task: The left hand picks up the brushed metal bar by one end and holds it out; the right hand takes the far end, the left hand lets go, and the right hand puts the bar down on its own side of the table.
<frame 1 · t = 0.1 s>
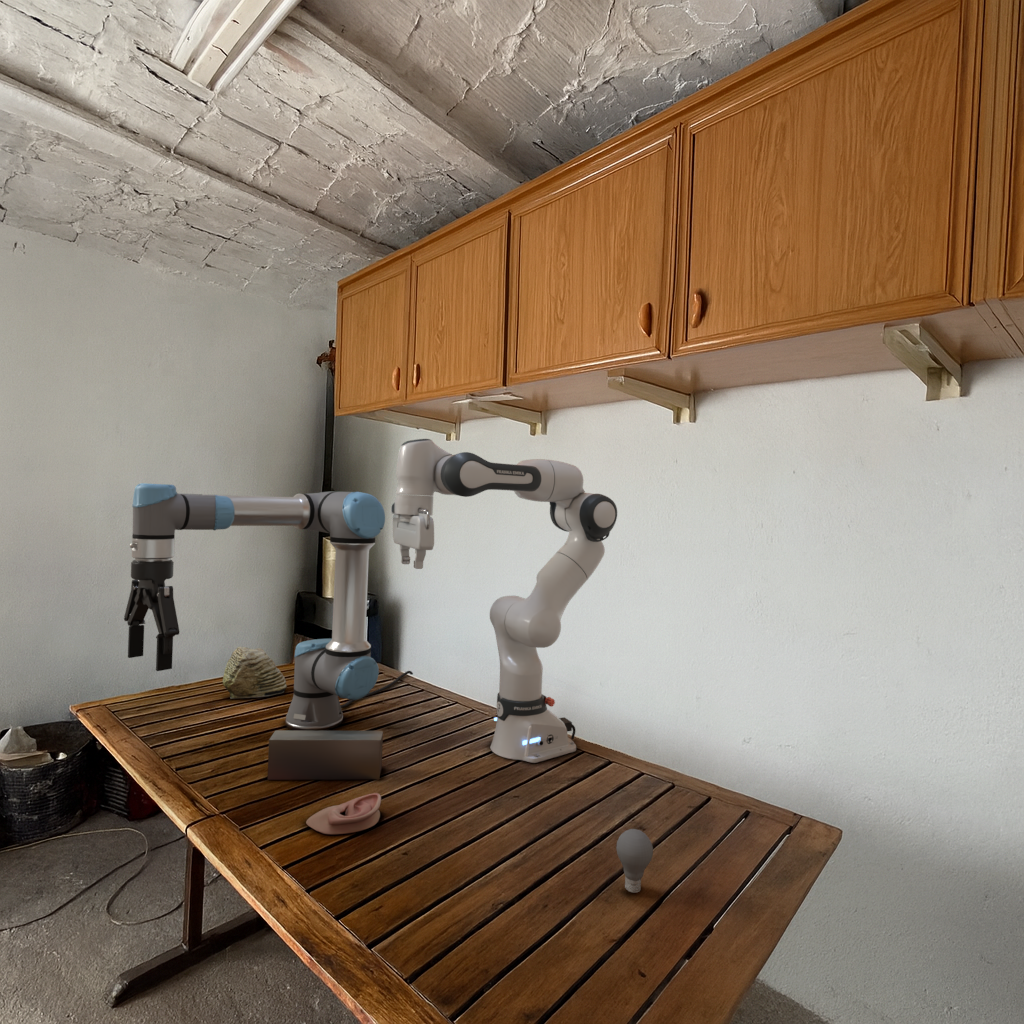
left hand: (149, 663, 129), 28 cm above the table, tool pointing down, fingers open, 13 cm apart
right hand: (411, 566, 149), 48 cm above the table, tool pointing down, fingers open, 8 cm apart
bar: (326, 774, 145), on the table
anatomical model: (344, 821, 124), on the table
light bulb: (632, 891, 106), on the table
fossil: (254, 694, 198), on the table
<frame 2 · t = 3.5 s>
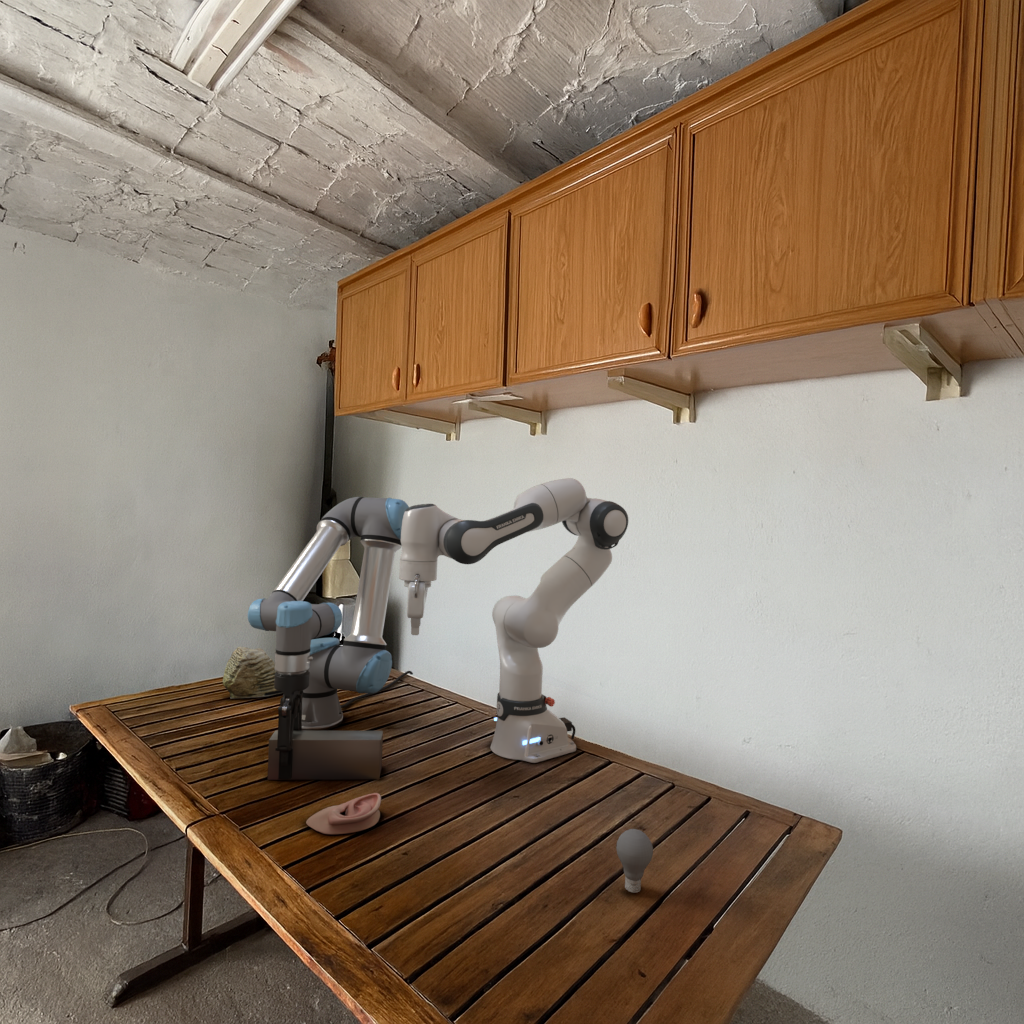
left hand: (288, 771, 144), 1 cm above the table, tool pointing down, fingers closed on bar, 6 cm apart
right hand: (415, 630, 150), 33 cm above the table, tool pointing down, fingers open, 8 cm apart
bar: (326, 774, 145), on the table, touching left hand
everything else where it was.
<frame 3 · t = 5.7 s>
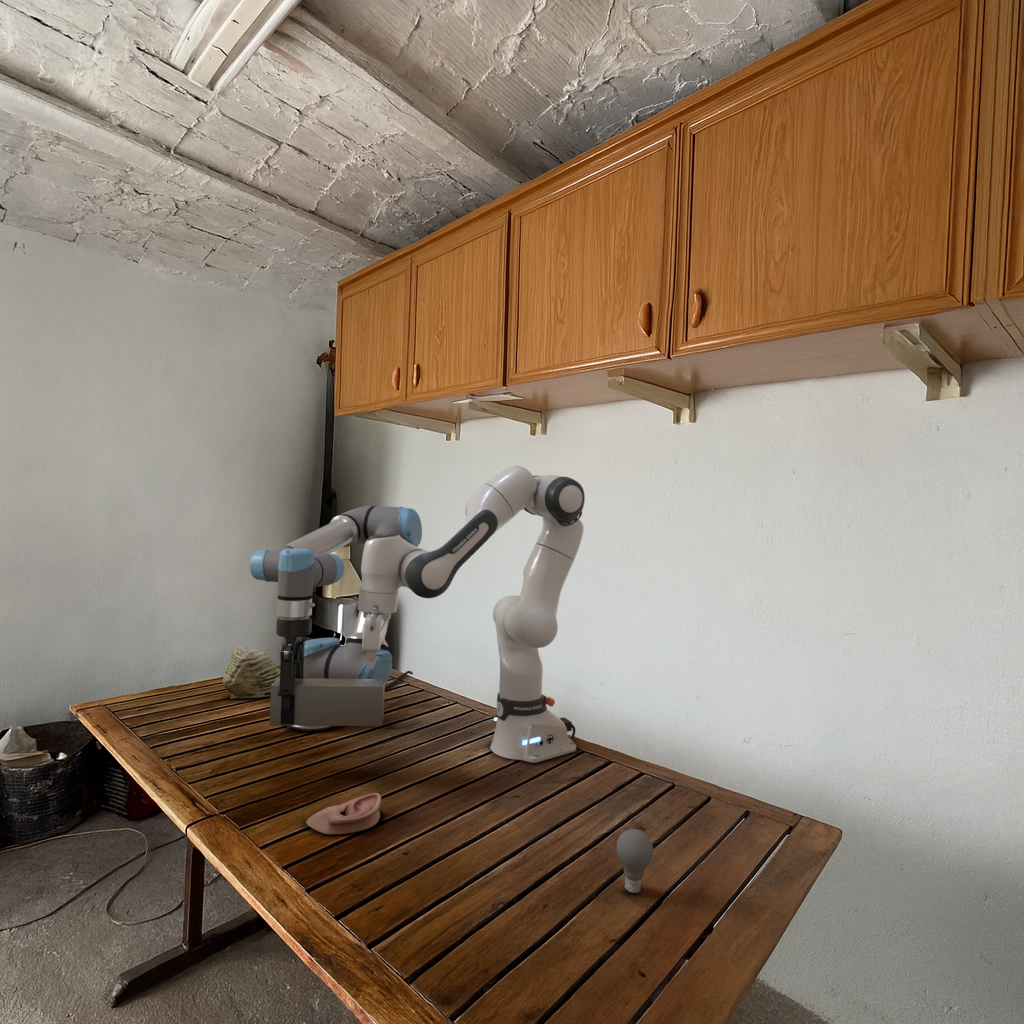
left hand: (290, 718, 144), 13 cm above the table, tool pointing down, fingers closed on bar, 6 cm apart
right hand: (372, 663, 146), 26 cm above the table, tool pointing down, fingers open, 8 cm apart
bar: (328, 721, 144), point 12 cm above the table, touching left hand
everything else where it was.
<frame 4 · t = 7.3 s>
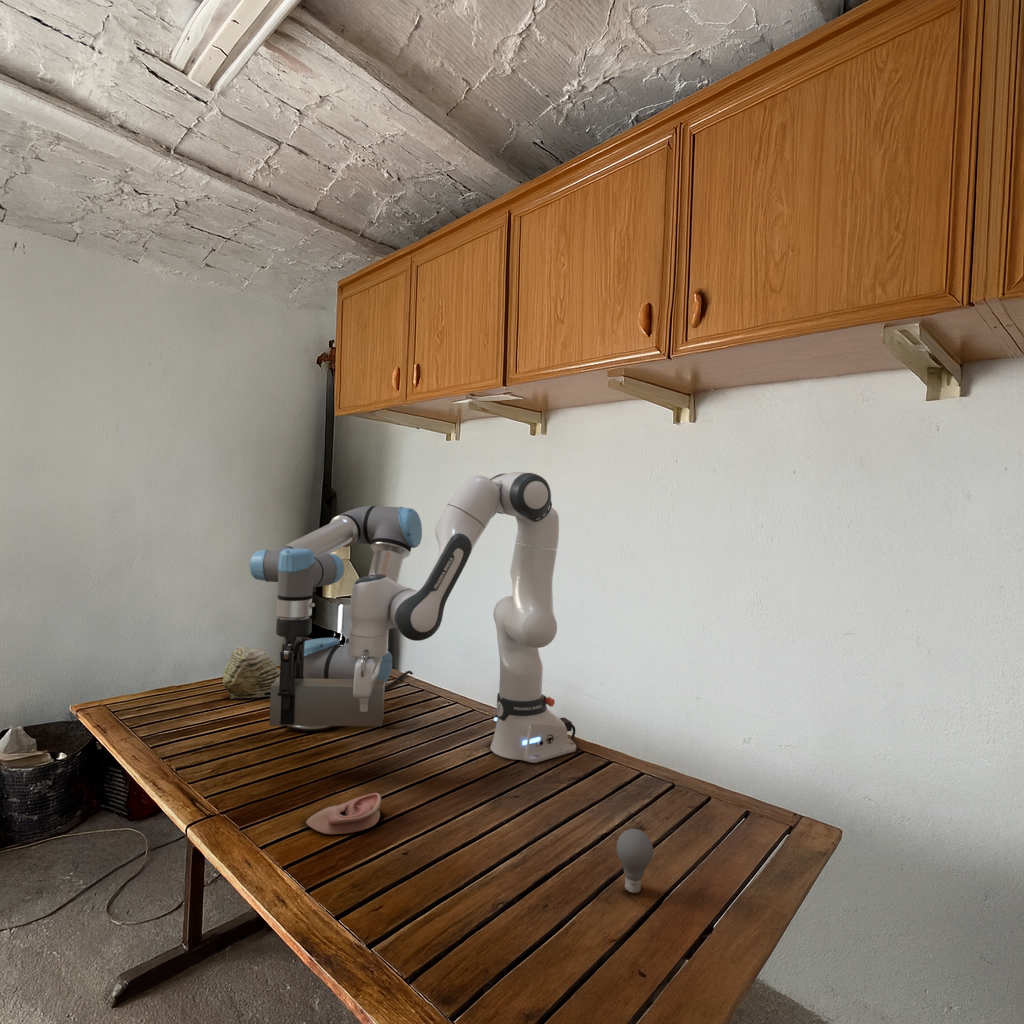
left hand: (290, 718, 143), 13 cm above the table, tool pointing down, fingers closed on bar, 6 cm apart
right hand: (366, 705, 145), 16 cm above the table, tool pointing down, fingers closed on bar, 6 cm apart
bar: (328, 721, 144), point 12 cm above the table, touching left hand, right hand
everything else where it was.
when the left hand's fingers open (13 cm above the table, at t = 8.1 s): bar stays where it is, held by the right hand.
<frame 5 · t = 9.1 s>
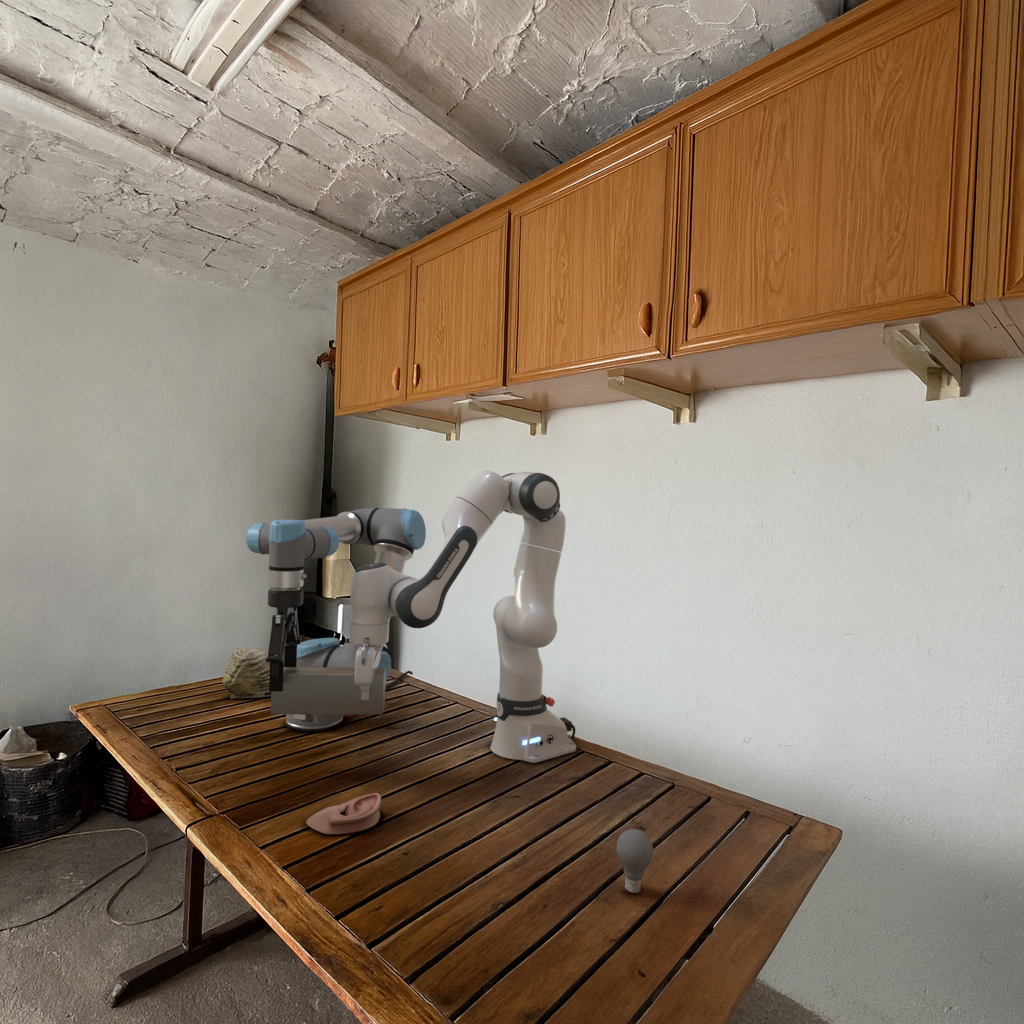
left hand: (283, 681, 143), 21 cm above the table, tool pointing down, fingers open, 13 cm apart
right hand: (367, 694, 145), 19 cm above the table, tool pointing down, fingers closed on bar, 6 cm apart
bar: (329, 710, 144), point 15 cm above the table, touching right hand
everything else where it was.
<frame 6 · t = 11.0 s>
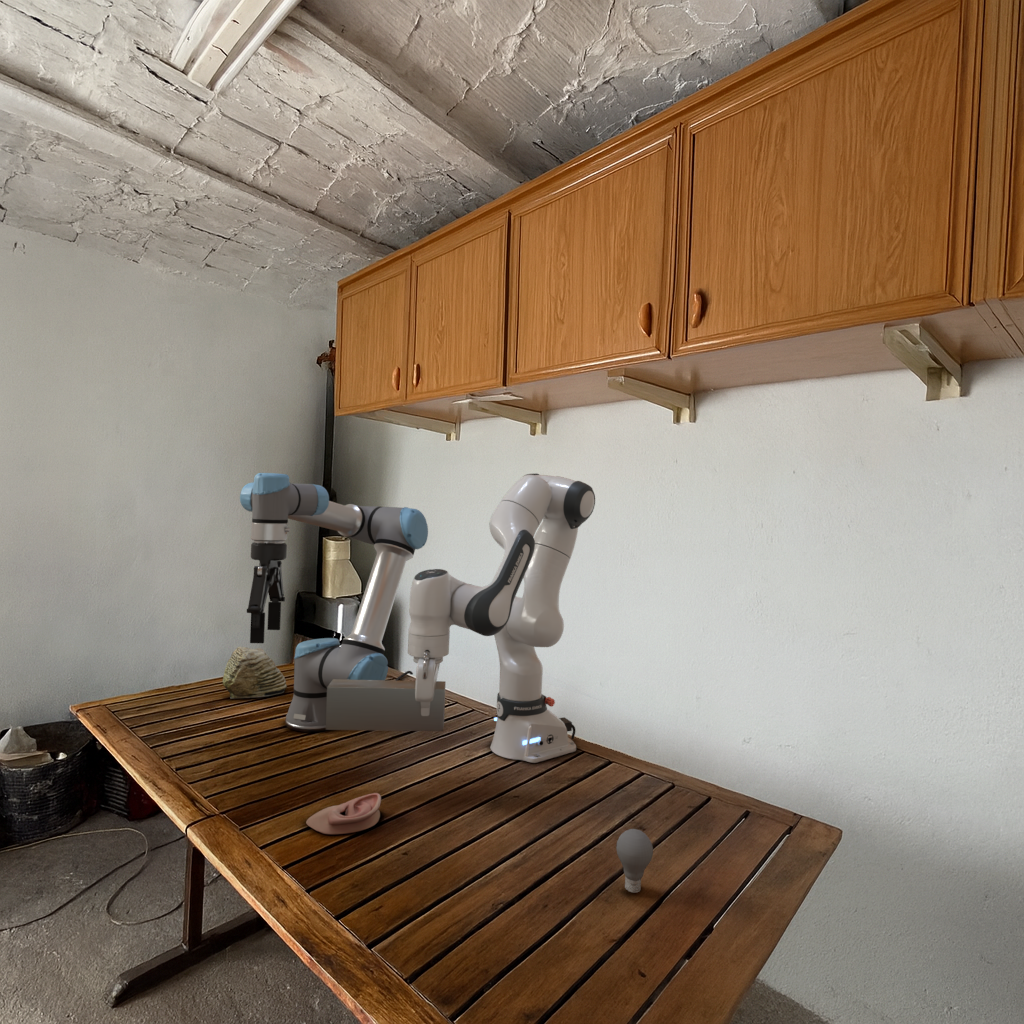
left hand: (265, 636, 142), 31 cm above the table, tool pointing down, fingers open, 13 cm apart
right hand: (426, 709, 136), 19 cm above the table, tool pointing down, fingers closed on bar, 6 cm apart
bar: (386, 725, 136), point 15 cm above the table, touching right hand
everything else where it was.
when the right hand's fingers open (5 cm above the table, at t = 14.8 s): bar drops 2 cm, on the table.
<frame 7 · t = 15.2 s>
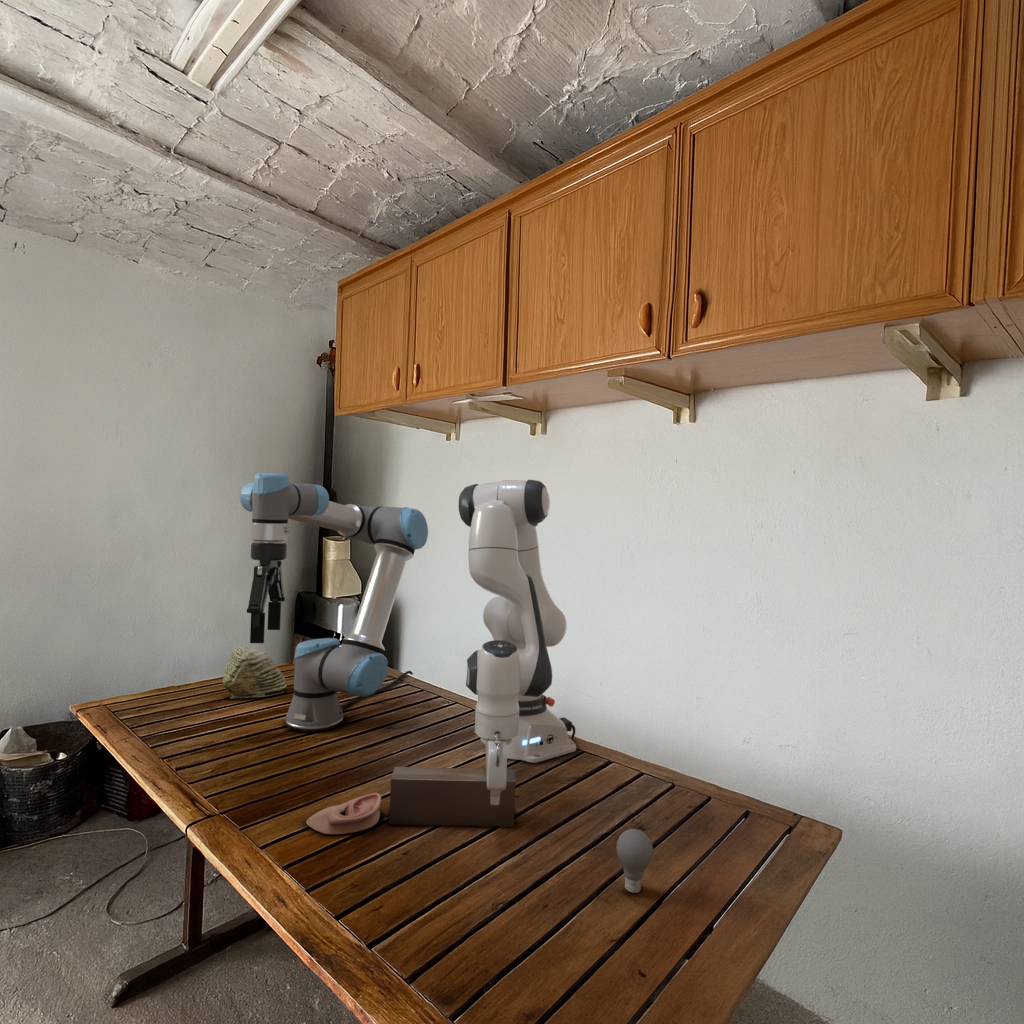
left hand: (265, 636, 142), 31 cm above the table, tool pointing down, fingers open, 13 cm apart
right hand: (494, 792, 127), 6 cm above the table, tool pointing down, fingers open, 8 cm apart
bar: (452, 818, 127), on the table
everything else where it was.
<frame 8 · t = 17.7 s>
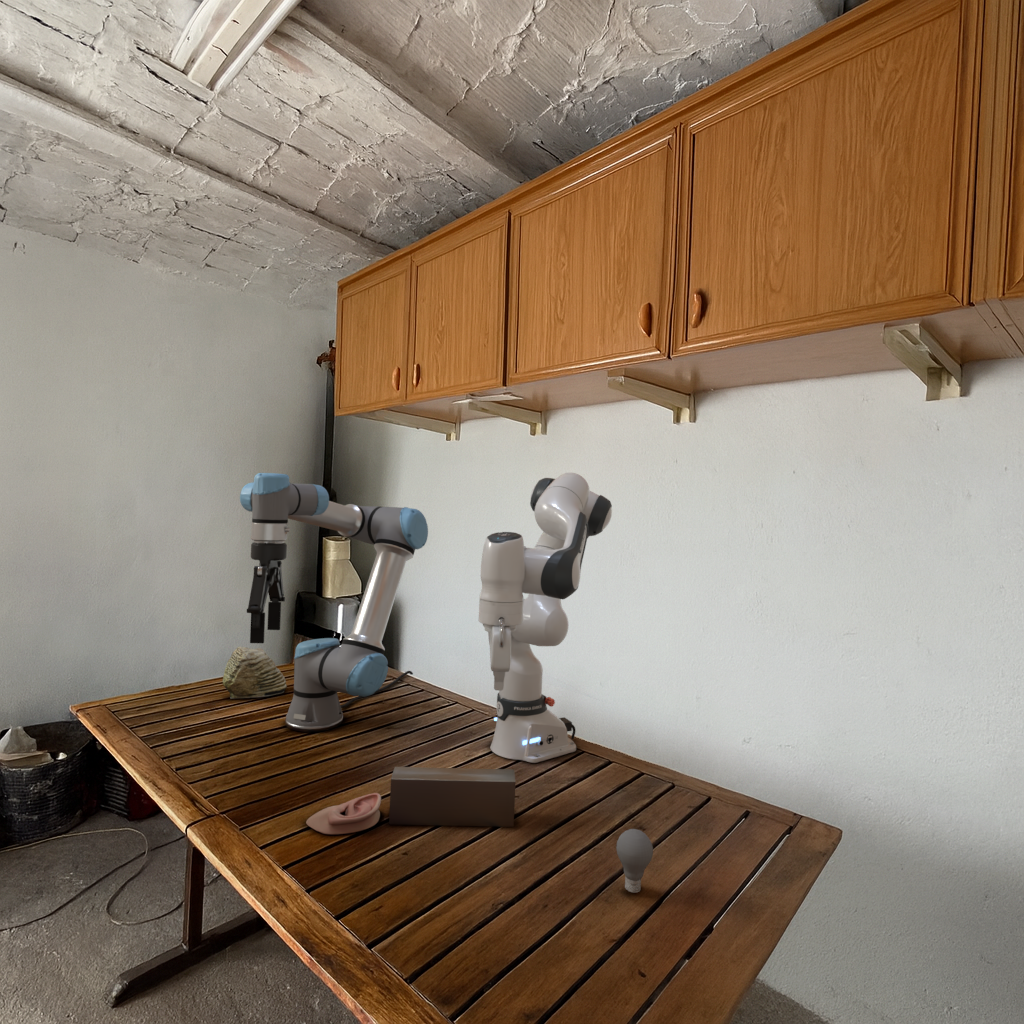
left hand: (265, 636, 142), 31 cm above the table, tool pointing down, fingers open, 13 cm apart
right hand: (497, 682, 127), 28 cm above the table, tool pointing down, fingers open, 8 cm apart
nothing on the table moved.
at the end: bar inside the target area (7.9 cm from its centre), on the table; the left hand is holding nothing; the right hand is holding nothing; bar at rest at the end (0.0 cm/s) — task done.
